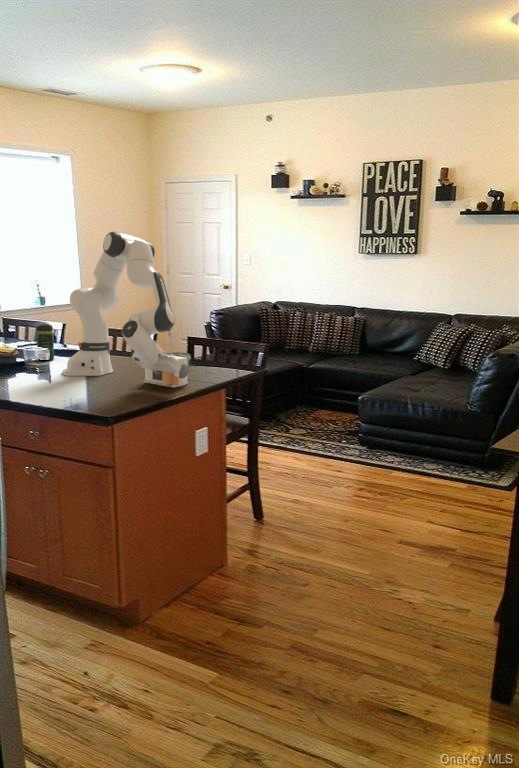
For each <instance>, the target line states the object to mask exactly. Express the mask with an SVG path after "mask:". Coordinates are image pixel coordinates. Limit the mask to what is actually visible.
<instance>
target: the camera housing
mask: <svg viewBox="0 0 519 768" xmlns="http://www.w3.org/2000/svg"><path fill="white" fill-rule="evenodd" d="M162 354H163V353H162ZM163 355H166V354H163ZM170 356H172V355H170ZM172 357H174V358H175V359H176V360H177V361H178V362H179V363H180V364H181V369H180V371H179V386H176V385H170V384H168V385H162V371H161V373H160V374H156V373H155V372H154V371H152V370H151V369H146V368H144V380H143V383H145V384H149V383H150V384H151V385H155V384H156V385H155V386H163V387H166V388H167V387H168V388H177V387H182V386H186V384H187V385H188V383H189V382H188V378H189V376H187V374H188V375H189V369H188V367H187V357H180V356H172Z"/></svg>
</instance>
